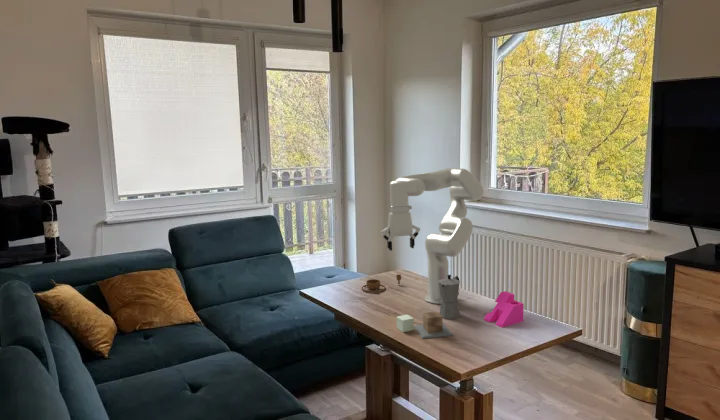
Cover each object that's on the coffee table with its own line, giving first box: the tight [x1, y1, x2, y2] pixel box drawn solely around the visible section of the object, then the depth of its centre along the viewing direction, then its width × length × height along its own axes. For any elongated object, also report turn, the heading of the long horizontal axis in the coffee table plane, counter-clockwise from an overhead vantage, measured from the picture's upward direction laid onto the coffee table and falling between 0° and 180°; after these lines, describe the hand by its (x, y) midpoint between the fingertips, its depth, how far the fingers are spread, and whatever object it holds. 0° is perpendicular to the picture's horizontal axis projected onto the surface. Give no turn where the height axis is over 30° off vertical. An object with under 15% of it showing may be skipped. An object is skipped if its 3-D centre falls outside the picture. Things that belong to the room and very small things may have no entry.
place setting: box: [361, 274, 402, 295], centre depth 263 cm, size 18×20×6 cm
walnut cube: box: [422, 311, 444, 333], centre depth 207 cm, size 6×6×6 cm
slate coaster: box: [414, 322, 453, 339], centre depth 207 cm, size 12×12×1 cm
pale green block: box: [396, 314, 415, 333], centre depth 210 cm, size 5×5×5 cm
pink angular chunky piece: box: [483, 291, 525, 328], centre depth 215 cm, size 12×10×10 cm
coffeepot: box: [438, 274, 461, 320], centre depth 224 cm, size 15×9×18 cm, turn 144°
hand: (401, 248), depth 225 cm, fingers open, 9 cm apart
